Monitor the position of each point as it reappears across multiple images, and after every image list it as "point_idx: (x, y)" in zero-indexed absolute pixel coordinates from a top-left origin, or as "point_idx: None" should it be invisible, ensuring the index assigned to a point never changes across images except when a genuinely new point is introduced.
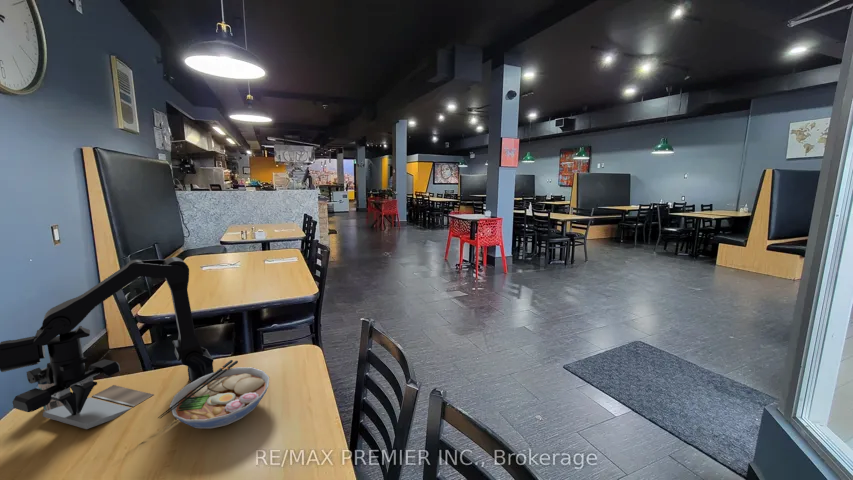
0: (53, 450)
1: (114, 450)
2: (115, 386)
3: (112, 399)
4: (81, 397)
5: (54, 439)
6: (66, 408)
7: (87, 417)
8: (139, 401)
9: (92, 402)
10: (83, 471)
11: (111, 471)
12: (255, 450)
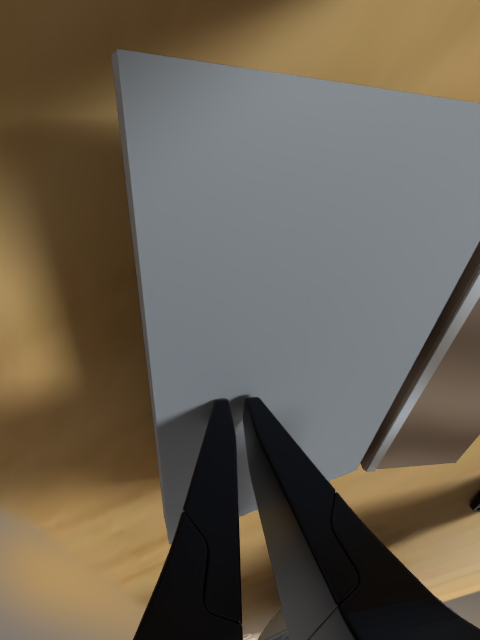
0: (52, 418)
1: (162, 540)
2: None
3: (449, 346)
4: (288, 612)
5: (92, 343)
6: (196, 462)
7: None
8: (404, 460)
9: (425, 271)
10: (70, 550)
11: (110, 577)
12: (247, 633)
